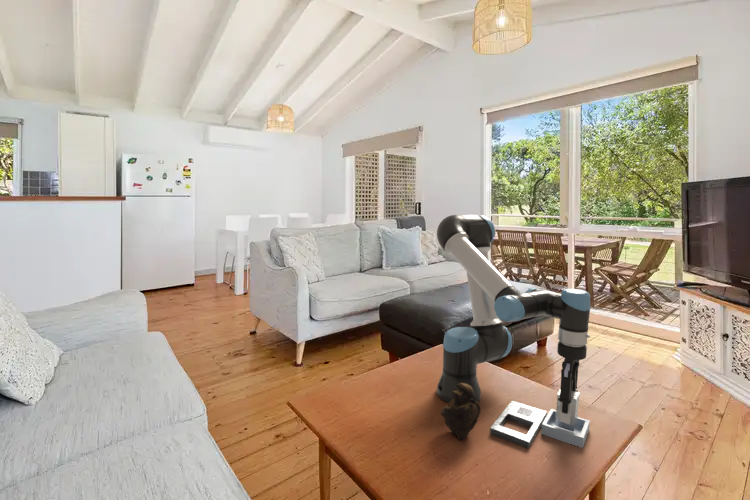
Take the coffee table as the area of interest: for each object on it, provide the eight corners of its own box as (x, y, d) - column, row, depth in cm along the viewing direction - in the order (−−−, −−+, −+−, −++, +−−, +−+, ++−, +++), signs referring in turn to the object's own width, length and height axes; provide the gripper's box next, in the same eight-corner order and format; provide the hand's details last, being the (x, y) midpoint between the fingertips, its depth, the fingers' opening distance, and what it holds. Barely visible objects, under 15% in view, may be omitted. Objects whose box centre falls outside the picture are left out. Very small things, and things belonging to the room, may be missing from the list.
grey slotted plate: (490, 434, 114) (490, 427, 114) (511, 406, 130) (512, 400, 130) (528, 448, 108) (528, 441, 107) (546, 417, 124) (546, 411, 123)
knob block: (555, 425, 115) (557, 391, 114) (559, 418, 119) (561, 385, 118) (573, 431, 112) (576, 397, 111) (577, 424, 116) (579, 390, 115)
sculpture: (428, 420, 115) (450, 374, 116) (454, 431, 119) (475, 386, 120) (448, 440, 105) (472, 389, 106) (476, 450, 109) (498, 401, 111)
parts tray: (541, 433, 115) (541, 424, 114) (550, 417, 123) (550, 408, 123) (582, 448, 108) (583, 438, 108) (589, 430, 117) (589, 420, 116)
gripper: (581, 355, 103) (574, 437, 106) (591, 337, 117) (585, 409, 120) (551, 348, 107) (545, 427, 110) (564, 331, 122) (559, 401, 124)
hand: (566, 417), depth 115 cm, fingers closed on knob block, 5 cm apart
